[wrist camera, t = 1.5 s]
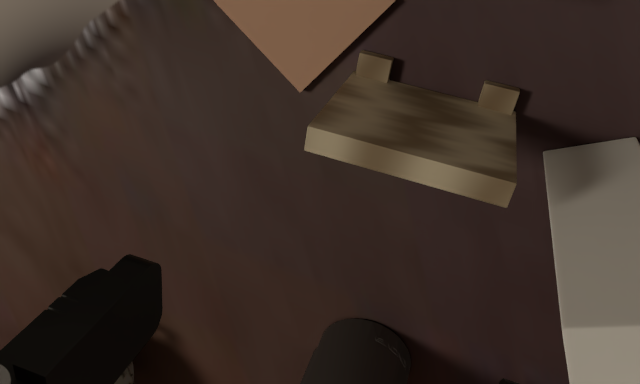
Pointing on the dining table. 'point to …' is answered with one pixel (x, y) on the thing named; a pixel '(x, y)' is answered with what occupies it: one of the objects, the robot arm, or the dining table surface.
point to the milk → (597, 257)
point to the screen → (421, 132)
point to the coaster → (303, 30)
